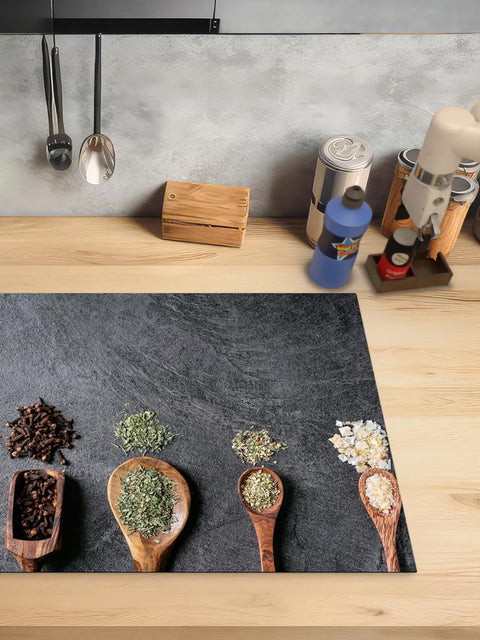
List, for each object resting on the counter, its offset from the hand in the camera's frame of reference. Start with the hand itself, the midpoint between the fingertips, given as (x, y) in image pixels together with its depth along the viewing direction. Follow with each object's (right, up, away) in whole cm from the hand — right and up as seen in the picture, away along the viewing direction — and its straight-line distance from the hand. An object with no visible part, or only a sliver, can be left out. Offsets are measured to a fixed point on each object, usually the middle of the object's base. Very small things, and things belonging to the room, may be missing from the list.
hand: (409, 234), depth 155 cm
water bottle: (-14, -7, +12) cm, 19 cm away
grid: (+3, -7, +11) cm, 14 cm away
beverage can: (0, -7, +10) cm, 13 cm away
